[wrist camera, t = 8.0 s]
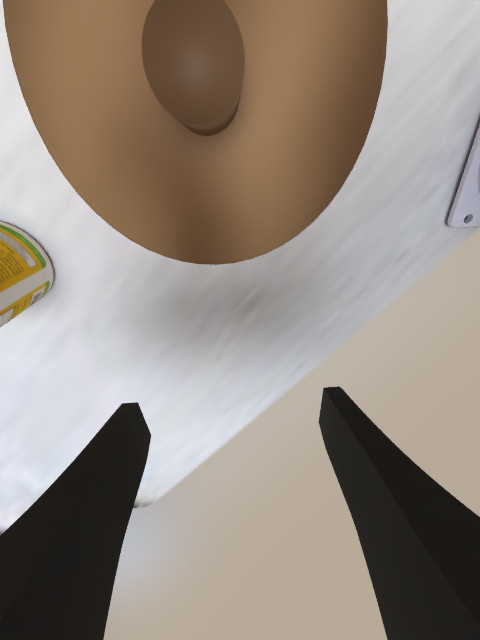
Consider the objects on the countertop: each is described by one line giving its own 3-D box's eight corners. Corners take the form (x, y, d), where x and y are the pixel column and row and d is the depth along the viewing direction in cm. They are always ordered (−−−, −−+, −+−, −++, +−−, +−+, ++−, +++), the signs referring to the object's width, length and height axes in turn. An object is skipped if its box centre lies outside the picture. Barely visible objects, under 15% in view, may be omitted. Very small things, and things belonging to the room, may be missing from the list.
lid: (429, -229, 6) (646, -654, 3) (340, 255, 12) (378, 286, 9) (-73, -232, 6) (-429, -699, 3) (92, 263, 12) (43, 298, 9)
